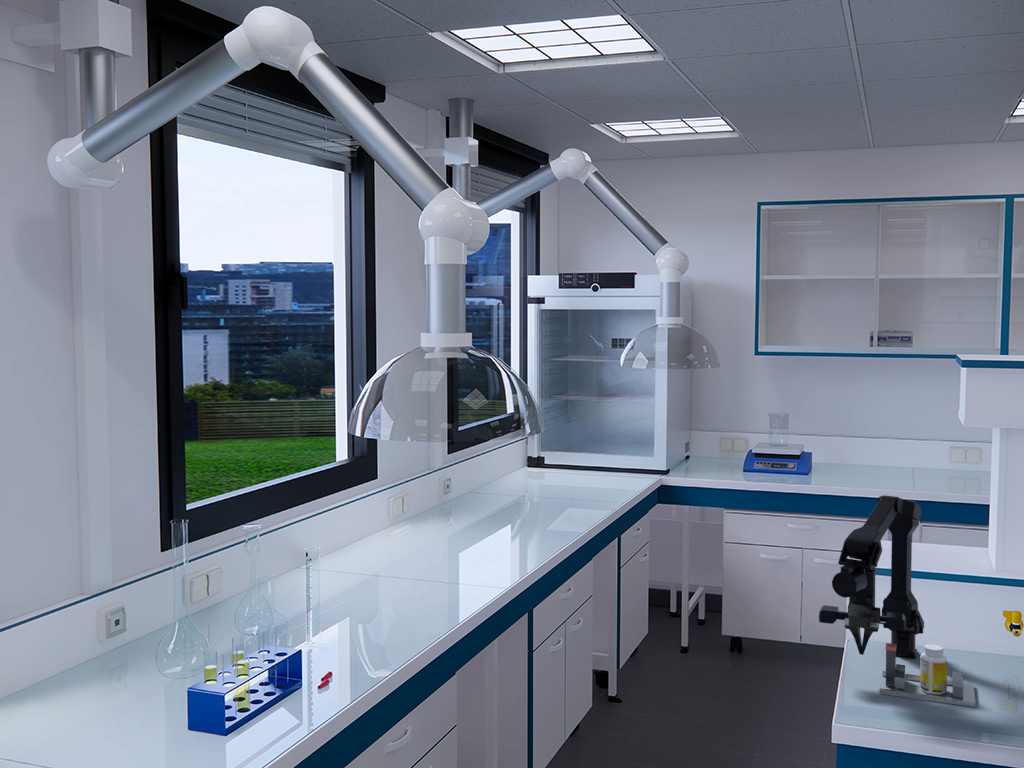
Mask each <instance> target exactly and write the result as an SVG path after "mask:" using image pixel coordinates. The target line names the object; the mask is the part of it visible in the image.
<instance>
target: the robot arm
mask: <svg viewBox="0 0 1024 768" xmlns="http://www.w3.org/2000/svg"><path fill="white" fill-rule="evenodd" d="M921 517H922V507H921V506H920V505H919V504H918V502H917V501H915V500H909V499H907V500H906V499H903V497H902V498H901V497H899V496H894V495H880V496H878V499H877V504H876V506H875V507H874V508H873V510H872V512H871V513H870V515H869V516H868V517H867V519H866V521H865V523H864V524H863V525H862V526H861V527H858V528H855V529H853V530H852V531H851V532H850V533H849V534H848V536H847V537H846V538H845V539H844V541H843V545H842V549H841V552H840V556H839V559H838V563H837V564H838V565H840V572H838V573H836V574H834V576H833V578H832V580H831V585H832V589H833V591H834V592H835V593H836V595H838V596H839V597H842V598H844V599H845V598H847V599H848V605H847V611H840V610H839V606H834V605H825V604H823V605H822V606H821V607H820V609H819V613H818V622H819V623H820V624H830V625H831V624H832V625H833V624H834V623H836V622H837V620H839V621H840V620H841V621H844V622H845V623H844V629H847V630H849V631H850V633H851V635H852V636H853V639H854V642H855V644H856V645H855V646H856V648H857V651H858V653H859V655H861V656H862V655H864V653H865V650H866V648H867V646H868V642H869V640H870V638H871V636H872V634H873V633H878V632H879V628H880V625H882V627H883V629H887V630H889V631H890V636H891V637H890V643H892V644H896V657H901V658H902V657H905V658H912V659H917V657H918V648H916V636H917V635H920V634H921V635H922V634H924V629H925V621H924V619H923V617H922V615H921V612H920V610H919V602H918V601H917V598H916V597H915V595H914V593H913V592H912V561H913V560H912V555H913V554H912V553H913V551H912V548H913V540H912V539H913V533H914V532H915V531H916V530H917V529H918V527H919V525H920V520H921ZM887 530H889V531H888V532H890V534H891V554H890V555H891V556H890V557H891V562H890V563H891V565H890V566H891V567H890V569H891V571H890V573H891V574H890V592H889V593H888V595H887V596H886V597H884V599H883V600H882V607H876V568H877V567H878V563H879V561H880V558H881V555H882V553H883V545H882V542H881V541H882V539H883V537H884V536H885V534H886V532H887ZM861 629H863V636H862V635H861V634H862V633H861Z"/></svg>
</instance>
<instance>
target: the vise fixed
mask: <svg viewBox="0 0 1024 768" xmlns="http://www.w3.org/2000/svg"><path fill="white" fill-rule="evenodd" d="M951 673H952V674H951V676H952V677H951V679H948V678H947V686H951V689H952V697H949V696H942V695H933V694H928V693H919V692H911V691H906V690H904V691H898V690H895V689H889V688H882V687H880V688H879V695H884V696H893V697H900V698H907V699H915V700H921V701H922V700H923V701H926V702H927V701H928V702H936V703H943V704H948V705H957V706H965V707H972V708H976V696H975V687H974V682H970V681H963V680H964V679H963V673H962V672H960V671H952V672H951ZM883 676H886V670H882V677H883ZM906 680H908V681H914V682H920V675H917V674H908V673H905V681H906Z"/></svg>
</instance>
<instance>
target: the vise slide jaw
mask: <svg viewBox="0 0 1024 768" xmlns="http://www.w3.org/2000/svg"><path fill="white" fill-rule="evenodd" d="M896 661H897V656H896V644H892V643H891V642H886V643H885V671H886V677H885V687H893V688H894V690H898V691H905V687H906V679H905V674H906V664H899V663H896Z"/></svg>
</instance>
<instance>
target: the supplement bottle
mask: <svg viewBox="0 0 1024 768" xmlns="http://www.w3.org/2000/svg"><path fill="white" fill-rule="evenodd" d="M919 656H920V660H919V661H920V664H919V665H920V667H919V670H920V671H919V674H920V675H919V676H920V681H919V687H920V690H921V691H922V692H924V693H925V694H927V695H935V696H942V695H944V694H946V693H947V691H948V685H947V679H948V657H947V656H946V655H944V647H943V646H941V645H937V644H925V645H924V648H923V652H922V653H921V654H920V655H919Z"/></svg>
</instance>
